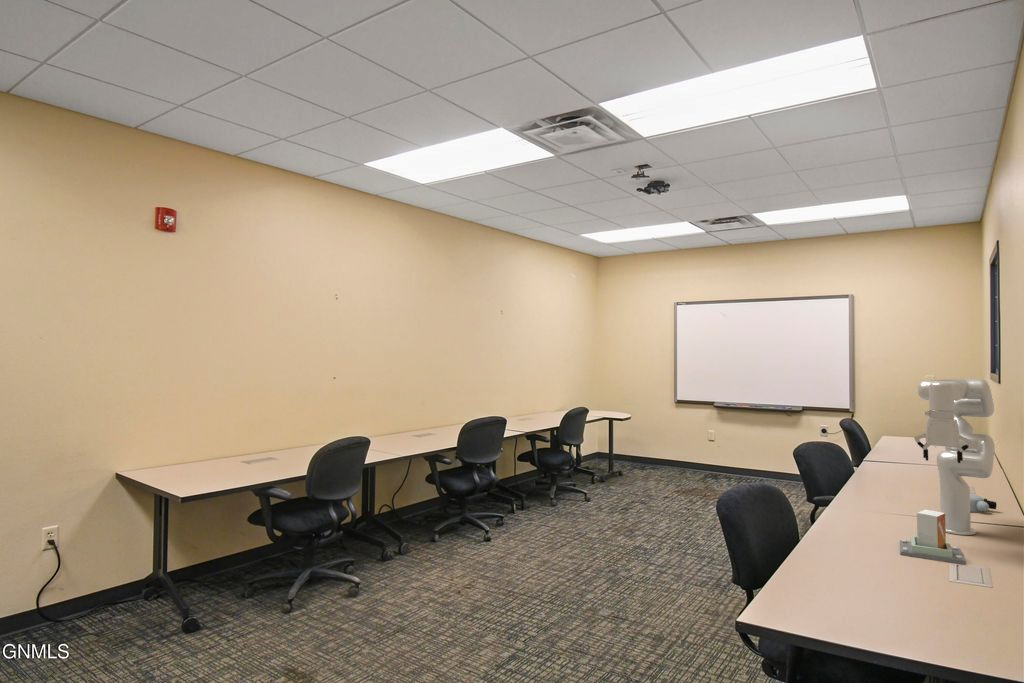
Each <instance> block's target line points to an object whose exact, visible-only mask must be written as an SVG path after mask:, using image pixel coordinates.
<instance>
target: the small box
mask: <svg viewBox="0 0 1024 683" xmlns="http://www.w3.org/2000/svg"><path fill="white" fill-rule="evenodd" d="M916 530H917V531H916V532H917V534H916V535H917V545H919V546H926V547H933V548H940V549H946V540H947V539H946V533H947V532H945V513H942V512H941V511H936V510H931V509H930V510H929V509H923V510H921V511H918V512H916Z"/></svg>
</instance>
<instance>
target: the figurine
mask: <svg viewBox="0 0 1024 683" xmlns="http://www.w3.org/2000/svg"><path fill="white" fill-rule="evenodd" d="M990 509H992V510H996V509H997V502H996V501H992V500H988V499H987V498H984V497H982V496H979V495H976V494H975V493H972V492H970V513H972V512H973V513H980V511H981V512H987V511H988V510H990Z"/></svg>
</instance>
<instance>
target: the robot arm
mask: <svg viewBox="0 0 1024 683" xmlns="http://www.w3.org/2000/svg"><path fill="white" fill-rule="evenodd" d="M991 390H992V389H991V387H990V385H989V383H988V381H986V379H983V378H968V377H963V378H962V377H955V378H943V379H941V378H940V379H928V380H926V379H925V380H921V381H920V383H919V385H918V387H917V393H918V396H919V397H920V399H921V400H924V401H928V402H929V403H928V406H929V407H928V408H929V409H928V411H924V415H925V416H928V418H926V424H925V432H924V433H922V434H919V435H916V436H914V438H913V439H914V441H915V443H916V444H917V445H918V446H919V447H920V448H921V449H922V450H923V453H922V454H923V459H925V461H926V462H928V461H929V450H928V448H930V446H932V447H944V448H945V450H942V451H940V452H939V453H938V454H937V456H936V465H937V471H938V475H939V494H940V495H939V500H940V502H939V503H940V504H939V505H940V512H942V513H945V532H946V533H947V534H953V535H960V536H973V535H976V533H977V532H976V529H975V528H972V527H971V512H970V493H971V489H970V486H969V484H968V483H967V481H966V480H965V479H964V478H963V477H970V478H976V479H977V478H978V479H988V478H990V477H991V475H992V473H993V468H994V461H995V450H996V449H995V448H996V446H995V441H994V439H993V438H992V437H991V436H990V435H987V434H982V433H974V427H973V426H972V424H971V423H970V422H968V421H967V420H966V419H965V418H963V417H971V418H989V417H991V416H993V414H994V412H995V403H994V399H993V395H992V391H991ZM924 438H925V443H924V444H923V443H922V442H921V439H924Z"/></svg>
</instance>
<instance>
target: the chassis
mask: <svg viewBox="0 0 1024 683" xmlns="http://www.w3.org/2000/svg"><path fill="white" fill-rule="evenodd" d="M899 551H900V552H899V553H900V556H904V557H905V556H906V557H912V558H913V557H914V558H918V559H919V558H920V559H925V560H927V559H928V560H933V561H940V562H945V563H953V564H957V565H959V564H960V565H966V560H965V557H964V554H963V552H962V549H961V548H959V546H951V543H950V541H949V540H947V539H946V549H940V548H933V547H926V546H919V545H917V536H916V535H910V541H909V540H908V539H899Z"/></svg>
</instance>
